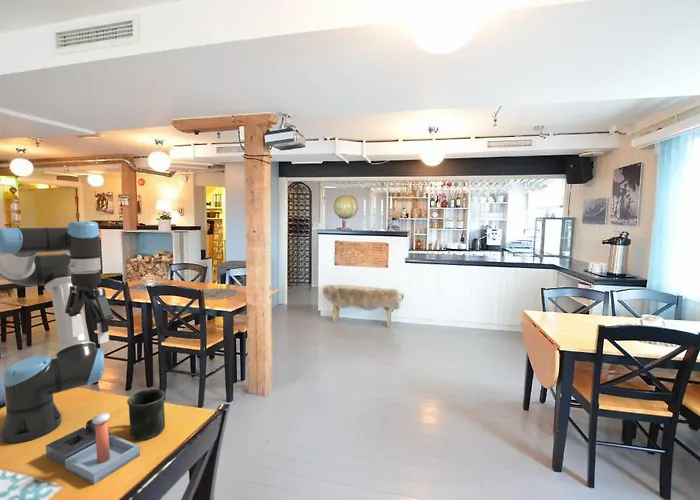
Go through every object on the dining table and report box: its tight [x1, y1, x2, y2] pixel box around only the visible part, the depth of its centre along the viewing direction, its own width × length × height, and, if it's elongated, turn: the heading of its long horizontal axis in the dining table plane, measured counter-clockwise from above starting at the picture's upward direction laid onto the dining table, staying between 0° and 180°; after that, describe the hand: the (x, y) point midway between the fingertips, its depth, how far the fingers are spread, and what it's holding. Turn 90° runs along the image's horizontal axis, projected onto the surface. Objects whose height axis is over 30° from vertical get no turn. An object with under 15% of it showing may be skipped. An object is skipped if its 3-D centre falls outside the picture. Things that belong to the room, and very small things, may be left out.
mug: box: [126, 388, 166, 441], centre depth 120 cm, size 11×15×12 cm
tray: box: [64, 434, 141, 485], centre depth 104 cm, size 13×13×3 cm
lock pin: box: [92, 412, 110, 463], centre depth 103 cm, size 4×4×13 cm
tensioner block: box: [45, 418, 96, 468], centre depth 109 cm, size 10×12×8 cm
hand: (90, 339), depth 112 cm, fingers open, 13 cm apart
